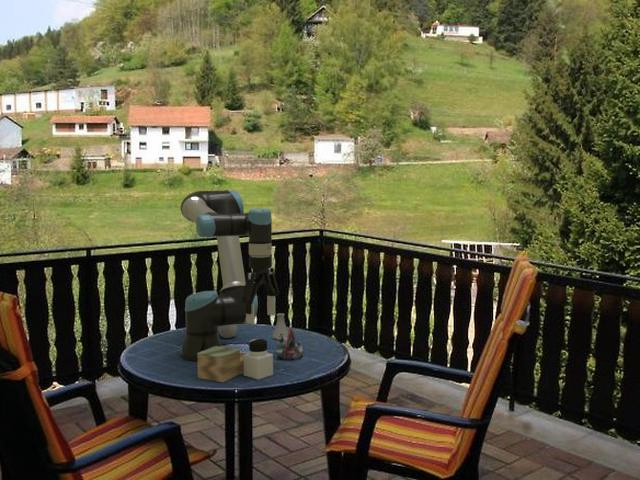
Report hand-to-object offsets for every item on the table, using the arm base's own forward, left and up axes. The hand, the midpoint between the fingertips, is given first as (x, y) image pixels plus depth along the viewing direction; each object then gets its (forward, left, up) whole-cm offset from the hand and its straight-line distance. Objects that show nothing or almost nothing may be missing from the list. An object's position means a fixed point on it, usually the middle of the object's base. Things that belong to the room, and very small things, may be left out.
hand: (261, 319), depth 213 cm
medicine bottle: (0, -2, -19) cm, 19 cm away
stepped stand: (-12, -3, -19) cm, 22 cm away
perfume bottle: (-40, +35, -19) cm, 56 cm away
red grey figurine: (-2, +22, -19) cm, 29 cm away
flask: (-19, +44, -19) cm, 51 cm away
